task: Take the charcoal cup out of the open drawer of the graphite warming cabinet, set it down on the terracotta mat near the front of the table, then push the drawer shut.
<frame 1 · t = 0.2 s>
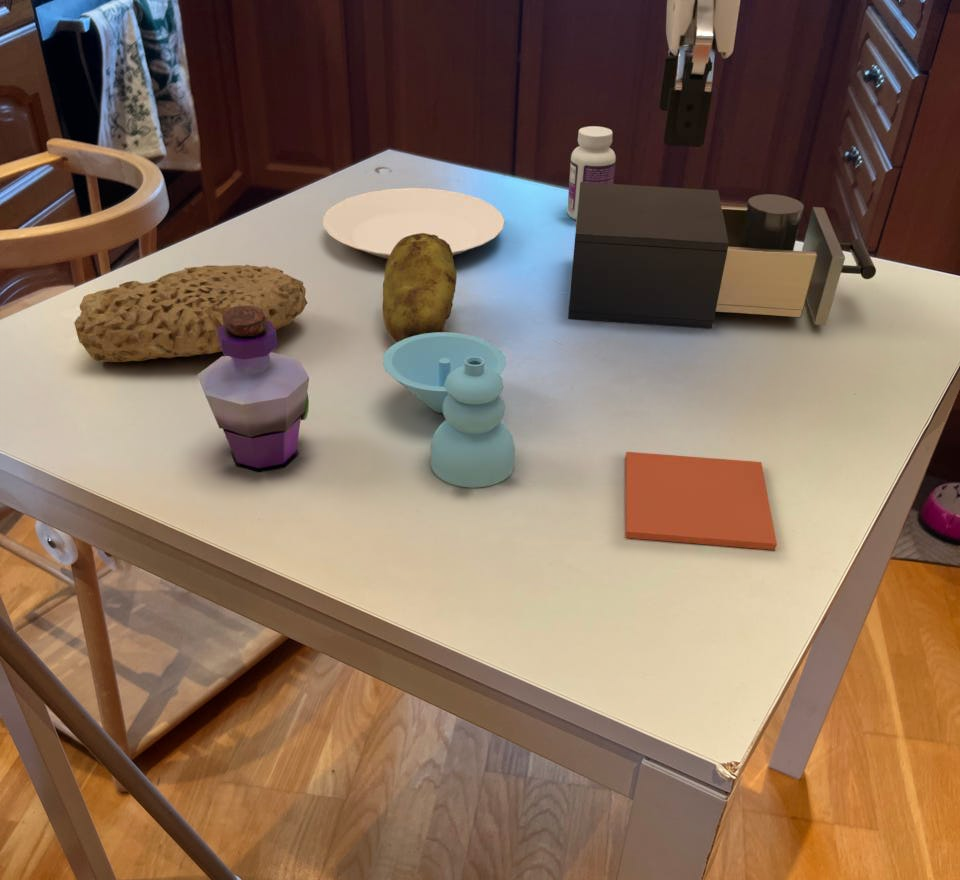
hand: (680, 127, 81), 20 cm above the table, tool pointing down, fingers open, 9 cm apart
potato: (418, 331, 96), on the table
cup: (758, 282, 101), point 2 cm above the table, touching drawer
potion bottle: (265, 454, 80), on the table
warmer: (638, 293, 104), on the table
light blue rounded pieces: (455, 430, 83), on the table
sponge: (203, 344, 93), on the table
mat: (695, 501, 76), on the table
pill bottle: (587, 217, 120), on the table
drawer: (779, 261, 100), point 4 cm above the table, slide at 10.0 cm, touching cup
plate: (414, 240, 113), on the table
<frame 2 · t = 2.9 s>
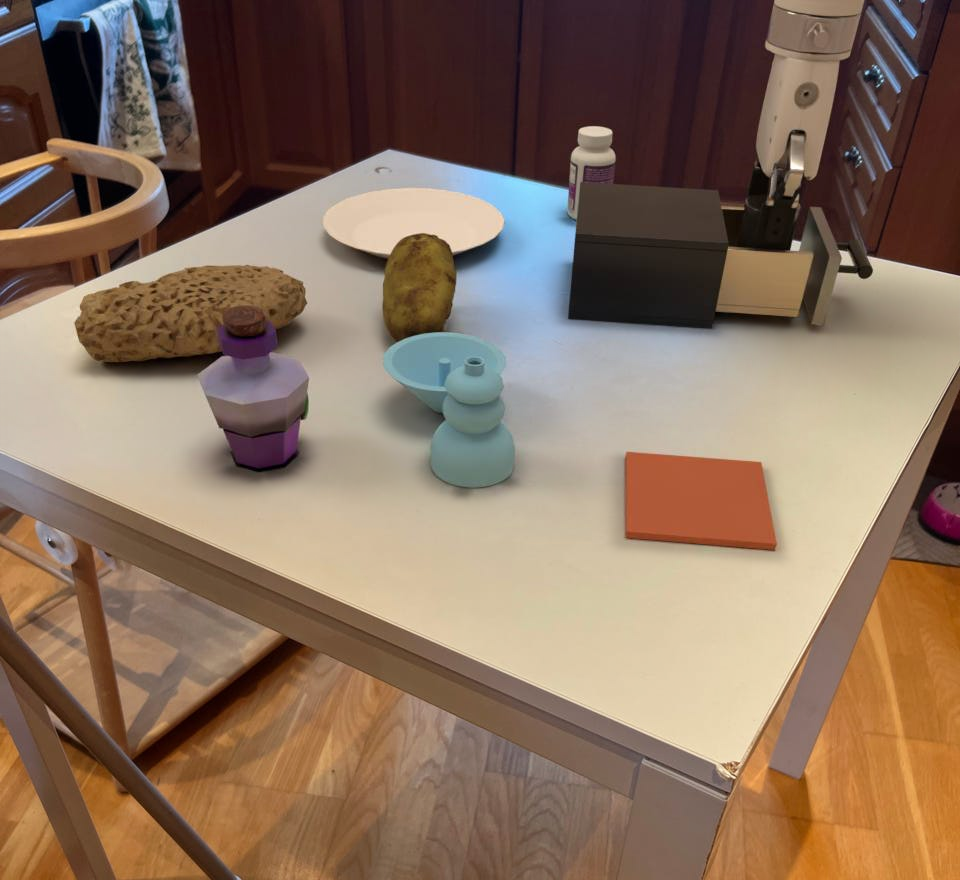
hand: (764, 228, 98), 7 cm above the table, tool pointing down, fingers open, 9 cm apart
drawer: (776, 261, 100), point 4 cm above the table, slide at 9.7 cm, touching cup, gripper
everything else where it was.
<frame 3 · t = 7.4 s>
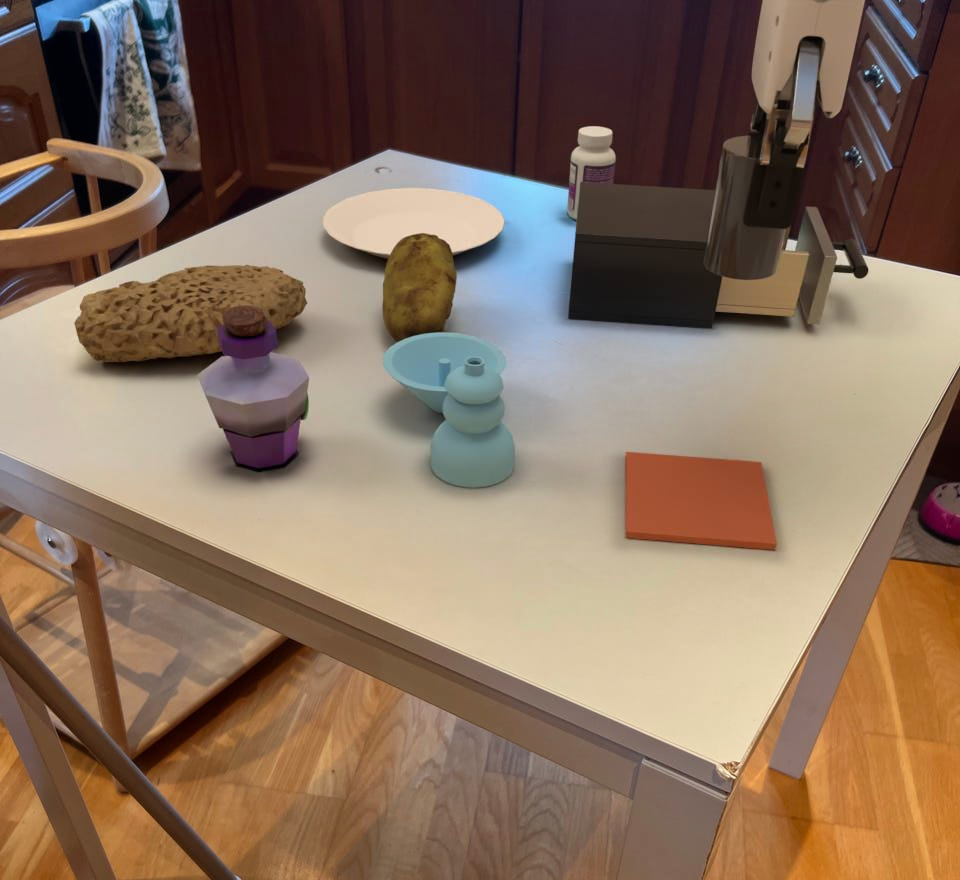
hand: (762, 207, 68), 20 cm above the table, tool pointing down, fingers closed on cup, 5 cm apart
cup: (739, 265, 71), point 16 cm above the table, touching gripper
drawer: (772, 261, 100), point 4 cm above the table, slide at 9.3 cm
everything else where it was.
when the fingers open (5 cm above the table, at t = 11.5 s): cup stays where it is, resting on mat.
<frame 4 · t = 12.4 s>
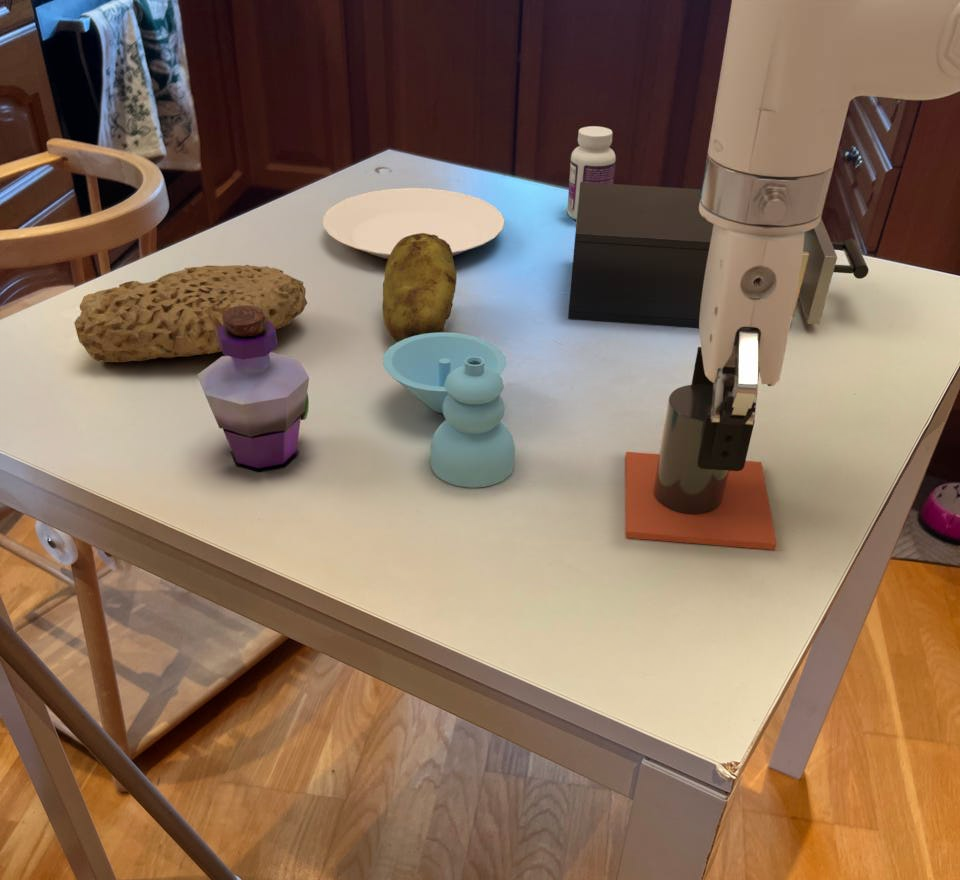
hand: (714, 430, 72), 6 cm above the table, tool pointing down, fingers open, 9 cm apart
cup: (687, 494, 75), point 1 cm above the table, touching mat
everything else where it was.
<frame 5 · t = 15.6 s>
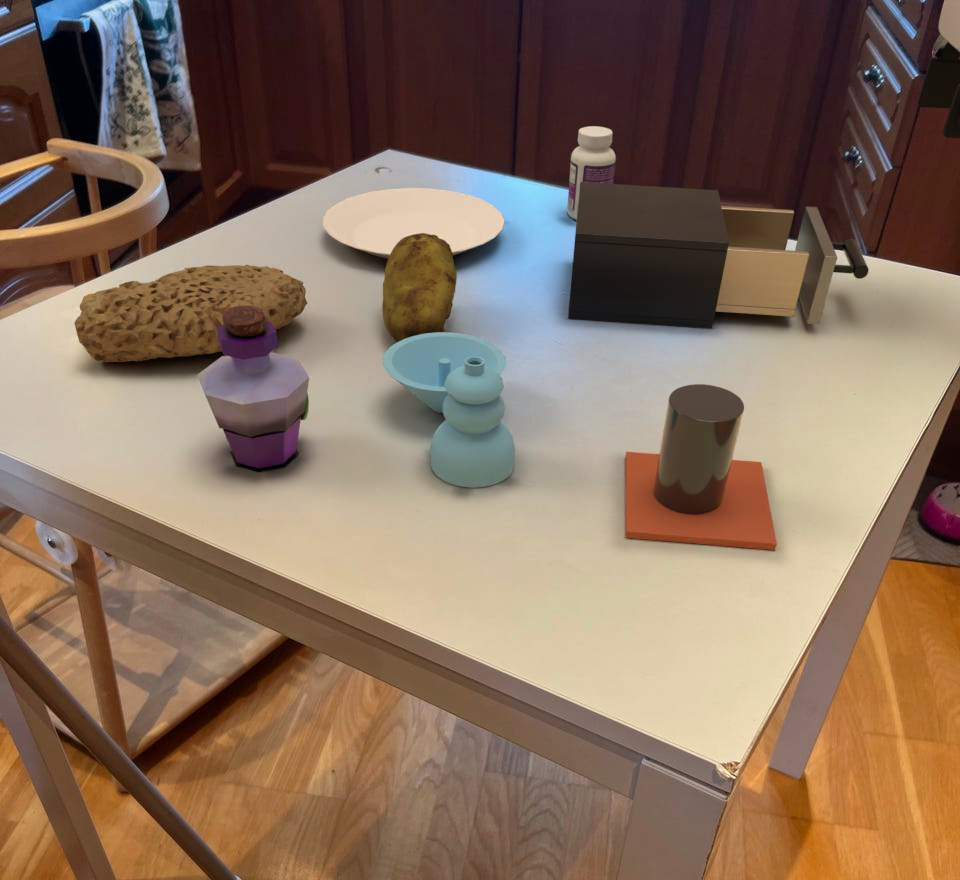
hand: (946, 121, 89), 18 cm above the table, tool pointing down, fingers open, 9 cm apart
nothing on the table moved.
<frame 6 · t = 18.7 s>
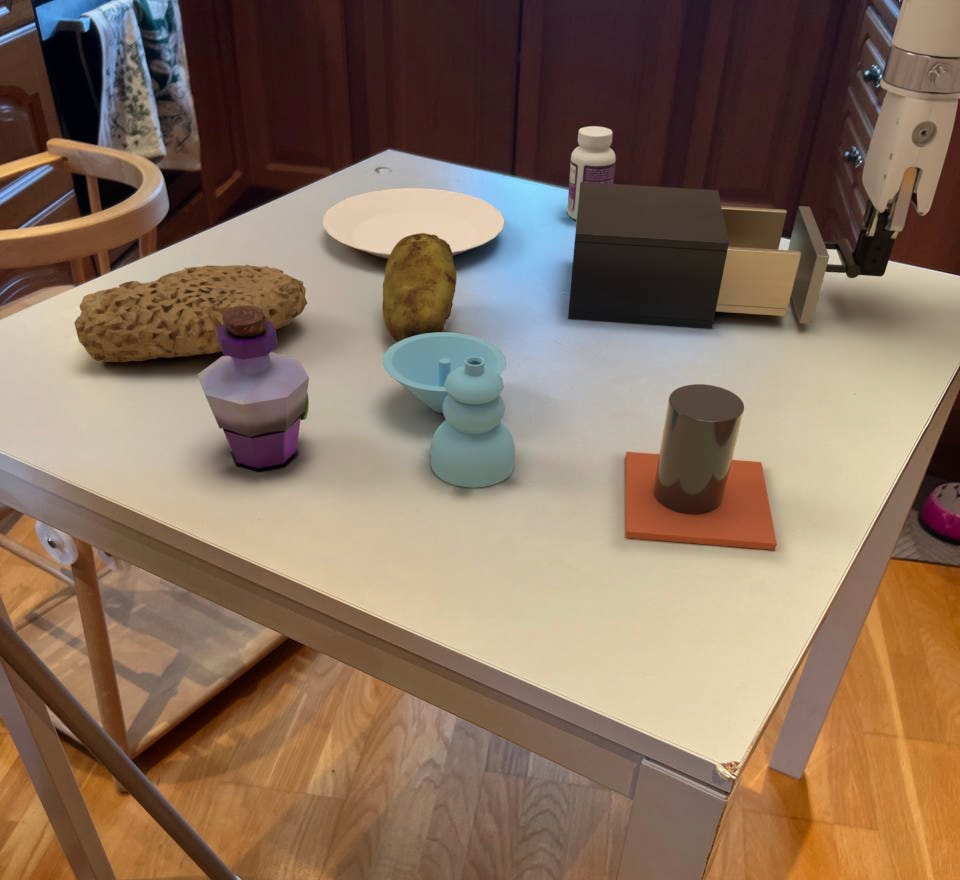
hand: (866, 272, 100), 4 cm above the table, tool pointing down, fingers closed
drawer: (764, 260, 100), point 4 cm above the table, slide at 8.5 cm, touching gripper
everything else where it was.
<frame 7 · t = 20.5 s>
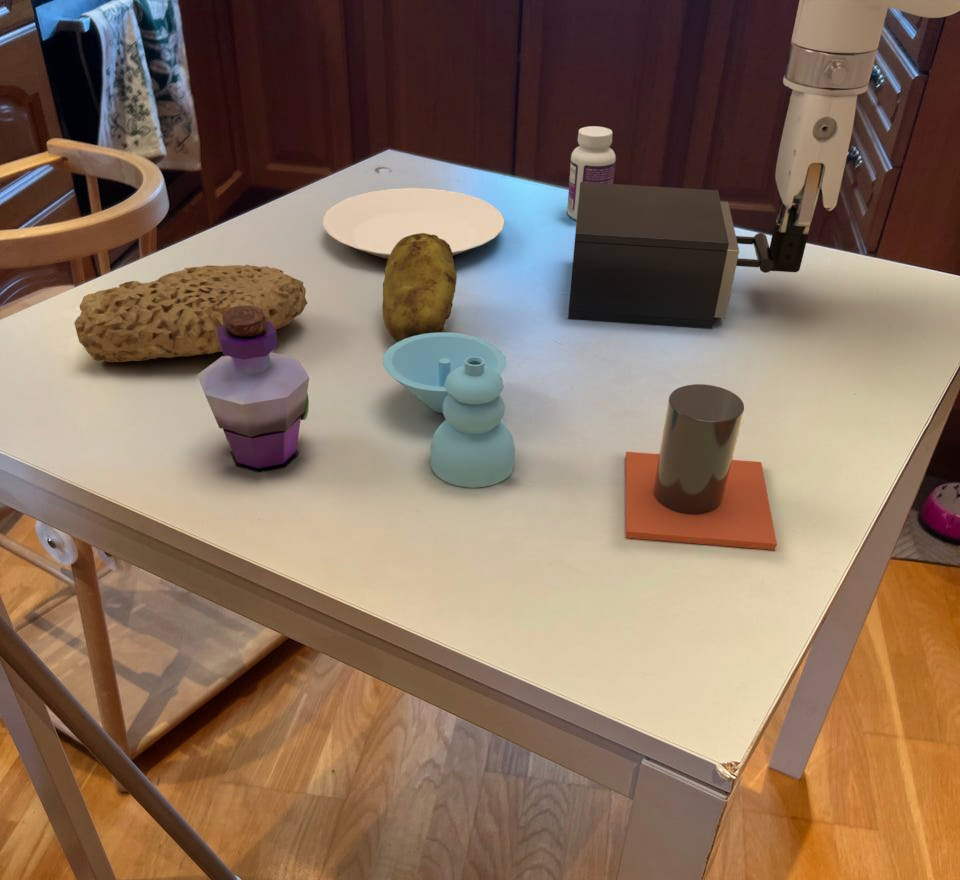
hand: (782, 268, 100), 4 cm above the table, tool pointing down, fingers closed
drawer: (681, 255, 100), point 4 cm above the table, slide at 0.0 cm, touching gripper, warmer
everything else where it was.
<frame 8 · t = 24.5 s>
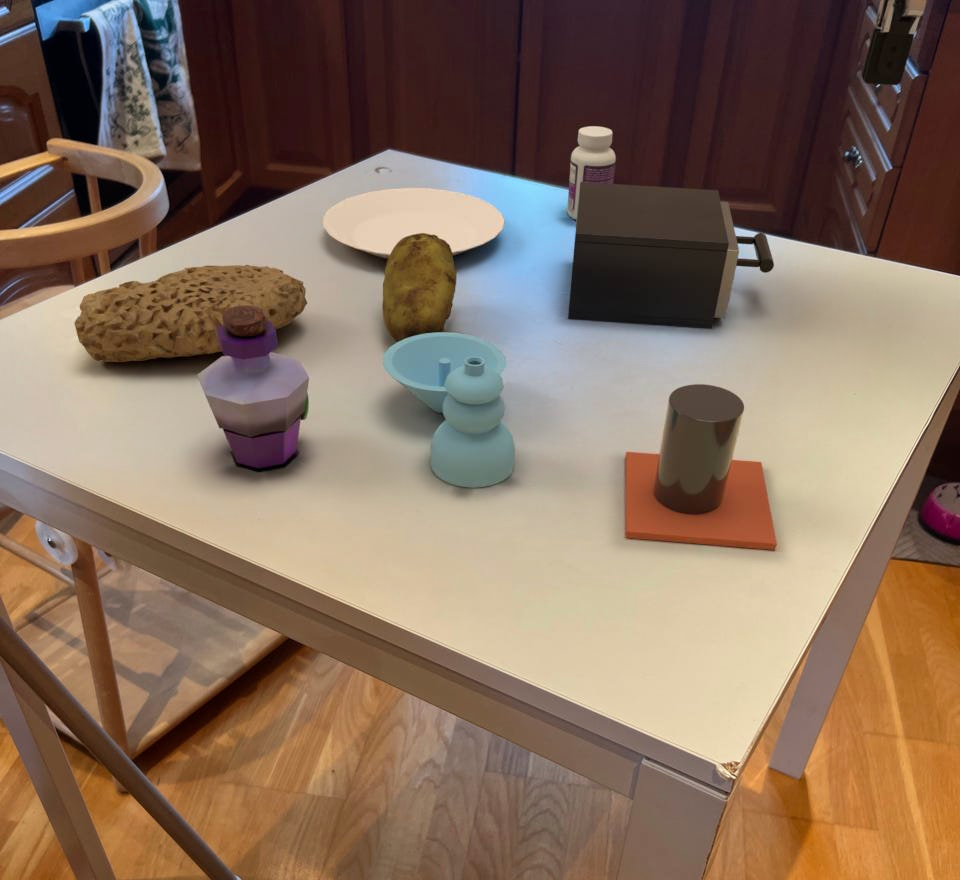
hand: (880, 81, 88), 21 cm above the table, tool pointing down, fingers closed
drawer: (681, 255, 100), point 4 cm above the table, slide at 0.0 cm, touching warmer
everything else where it was.
at the end: cup 0.7 cm off-centre on the mat, point 0.6 cm above the mat's base; cup tilted 0°; drawer slide at 0.0 cm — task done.
